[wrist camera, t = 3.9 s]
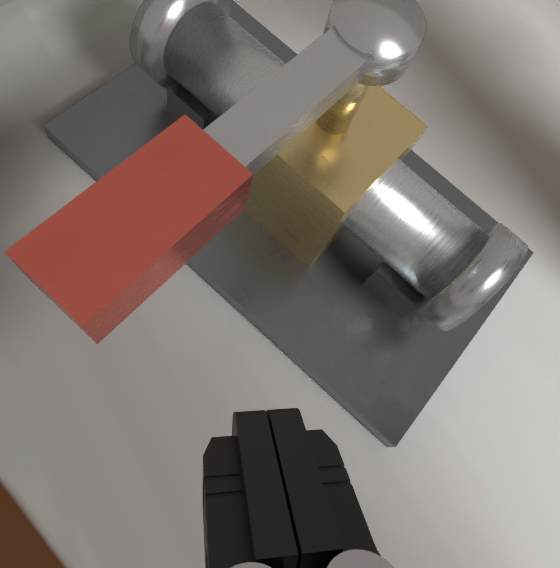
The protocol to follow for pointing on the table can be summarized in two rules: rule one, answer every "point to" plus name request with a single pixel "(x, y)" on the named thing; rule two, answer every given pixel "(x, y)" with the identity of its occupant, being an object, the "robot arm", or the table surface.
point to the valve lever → (204, 171)
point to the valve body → (315, 215)
